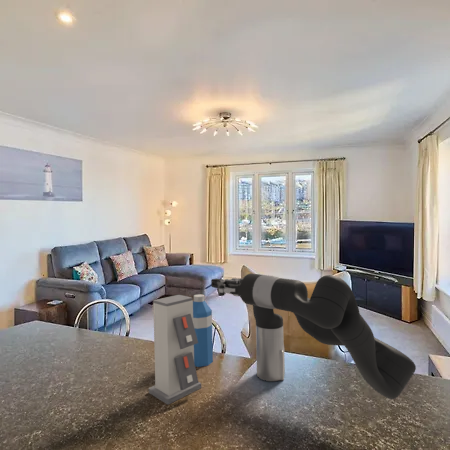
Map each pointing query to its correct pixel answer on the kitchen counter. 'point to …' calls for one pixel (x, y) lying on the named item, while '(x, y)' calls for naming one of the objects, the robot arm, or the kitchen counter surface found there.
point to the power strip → (169, 348)
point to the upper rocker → (185, 331)
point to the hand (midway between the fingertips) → (213, 282)
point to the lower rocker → (186, 370)
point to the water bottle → (202, 331)
